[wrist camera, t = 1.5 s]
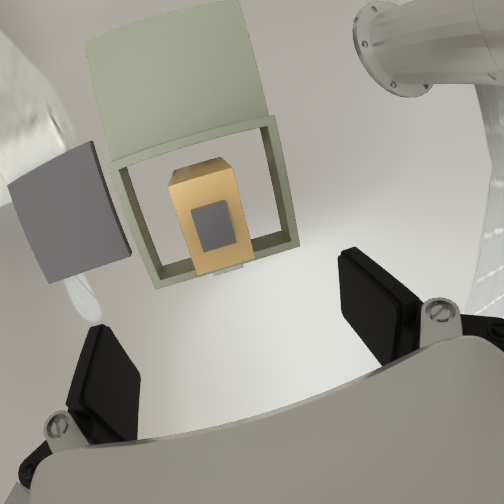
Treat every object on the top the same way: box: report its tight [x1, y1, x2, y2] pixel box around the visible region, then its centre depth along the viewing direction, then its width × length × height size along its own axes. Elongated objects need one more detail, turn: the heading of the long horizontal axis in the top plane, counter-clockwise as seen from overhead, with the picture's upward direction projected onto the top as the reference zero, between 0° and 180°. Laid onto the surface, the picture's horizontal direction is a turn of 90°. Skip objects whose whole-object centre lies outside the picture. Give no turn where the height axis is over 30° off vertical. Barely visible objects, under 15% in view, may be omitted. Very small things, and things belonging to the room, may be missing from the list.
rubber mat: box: [7, 141, 132, 284], centre depth 24 cm, size 11×12×1 cm
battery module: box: [168, 157, 255, 275], centre depth 23 cm, size 4×7×9 cm, turn 13°
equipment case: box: [85, 0, 300, 289], centre depth 23 cm, size 15×26×3 cm, turn 13°
